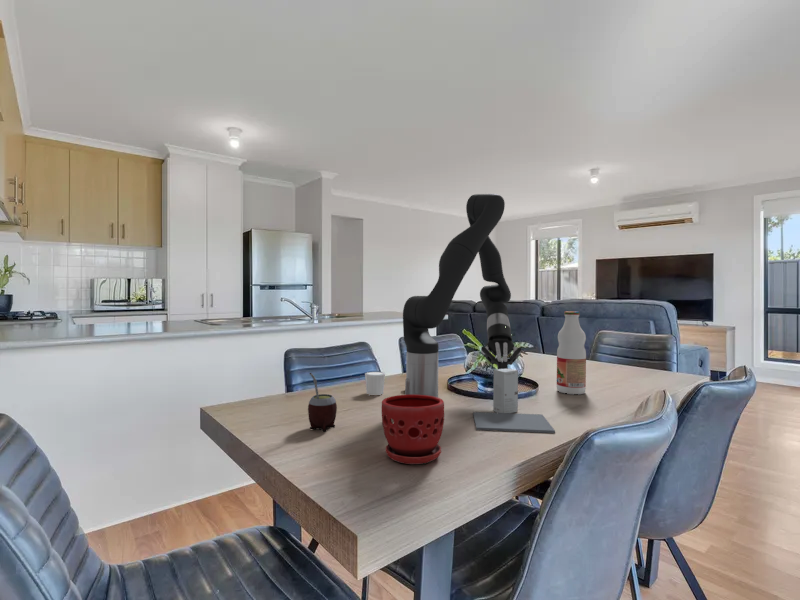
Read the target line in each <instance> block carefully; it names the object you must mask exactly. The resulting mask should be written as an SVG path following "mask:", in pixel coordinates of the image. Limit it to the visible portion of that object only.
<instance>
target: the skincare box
mask: <svg viewBox="0 0 800 600" xmlns="http://www.w3.org/2000/svg"><path fill="white" fill-rule="evenodd" d="M518 389H519V370H518V369H515V368H509V367H508V368H506V369H498V368H497V369H493V388H492V390H493V393H492V394H493V395H492V396H493V405H492V406H493V412H494V413H517V412H518V410H519V409H518V408H519V390H518Z"/></svg>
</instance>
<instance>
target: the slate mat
mask: <svg viewBox="0 0 800 600" xmlns="http://www.w3.org/2000/svg"><path fill="white" fill-rule="evenodd" d="M472 415H473V421H474V423H475V424H474V426H475V430H476V431H492V430H499V431H500V432H520V433H521V432H523V433H545V434H547V433H548V434H556V430H555V429H554V428H553V426H552V425H551V424H550V422H549V421H548V420H547V418H546V417H545V416H544V415H543V414H542V413H541V414H537V413H517V412H513V413H497V412H481V411H472ZM499 431H498V432H499Z"/></svg>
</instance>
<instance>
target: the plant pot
mask: <svg viewBox="0 0 800 600" xmlns="http://www.w3.org/2000/svg"><path fill="white" fill-rule="evenodd" d="M381 421H382V422H381V423H382V428H383V430H382V431H383V433H384V437H385V439H386V442H387V445H386V446H385V453H386V455H387V456H388V457H389V458H390V459H392V460H393V461H395V462H398V463H401V464H406V465H421V464H423V463H425V464H424V465H427V464H428V463H431V462H433V461H435V460H436V459H437V458H438V457H439V456H440V455H441V453H442V446H441V445H440V444H439V441H440V440H441V438H442V434H443V431H444V423H445V401H444V400H443V399H442V398H440V397H439V396H438V397H434V396H428V395H405V394H399V395H392V396H389V397H385V398H384V399H383V400H382V401H381ZM426 463H427V464H426Z"/></svg>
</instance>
